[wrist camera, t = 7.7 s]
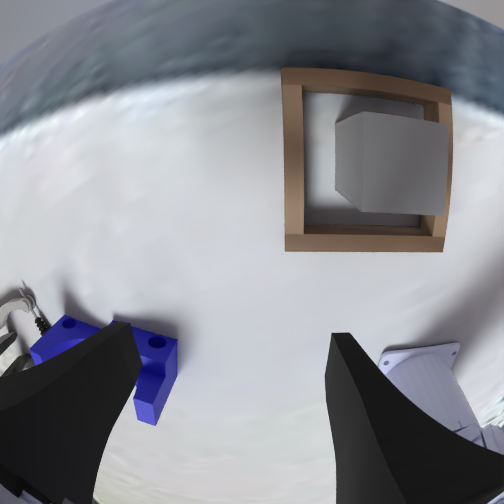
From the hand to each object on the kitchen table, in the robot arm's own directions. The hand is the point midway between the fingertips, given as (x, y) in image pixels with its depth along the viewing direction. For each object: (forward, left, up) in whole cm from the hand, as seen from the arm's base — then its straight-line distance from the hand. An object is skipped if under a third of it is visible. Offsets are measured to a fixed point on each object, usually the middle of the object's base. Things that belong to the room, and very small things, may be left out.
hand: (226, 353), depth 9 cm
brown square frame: (+6, -7, -9) cm, 13 cm away
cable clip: (-8, +13, -10) cm, 18 cm away
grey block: (+6, -7, -10) cm, 13 cm away
